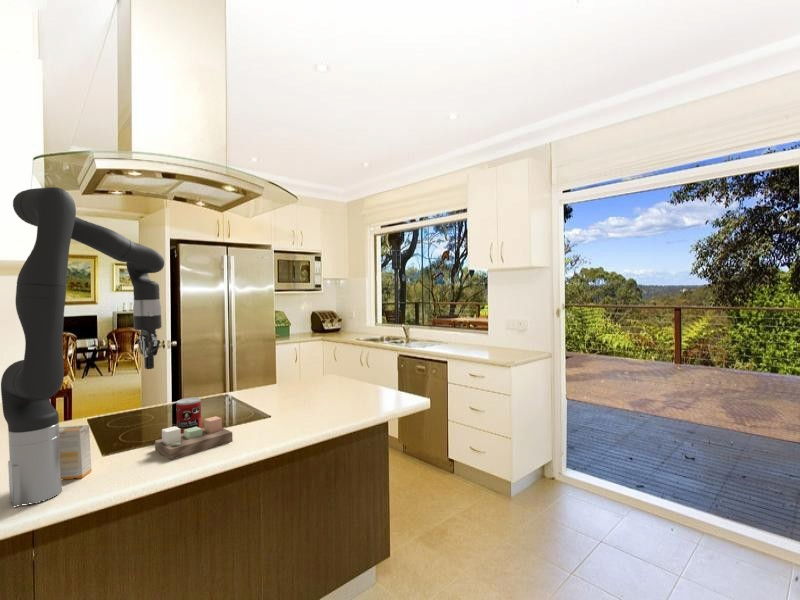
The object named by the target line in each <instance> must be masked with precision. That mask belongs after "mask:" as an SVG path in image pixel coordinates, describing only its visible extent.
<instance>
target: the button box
mask: <svg viewBox="0 0 800 600" xmlns="http://www.w3.org/2000/svg"><path fill="white" fill-rule="evenodd" d="M201 429H202V436H199V437H195V438H191V439H187V438H185V437H184V433H182V434H181V441H180V442H176V443H173V444H169V445H166V444H164V443H162V438H160V439H156V440H154V450H155V451H156V452H157V453H159V454H161V455H162V456H164V457H165V458H167V459H169V460H175V459H178V458H181V457H184V456H187V455H190V454H194V453H199V452H200V451H204V450H207V449H211V448H214V447H218V446H220V445H221V446H222V445H223V444H227V443H231V442H233V431H231V430H229V429H227V428H223V427H222V430H220V431H217V432H213V433H208V432H205V431H204V427H201Z"/></svg>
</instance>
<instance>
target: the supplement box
mask: <svg viewBox="0 0 800 600" xmlns="http://www.w3.org/2000/svg"><path fill="white" fill-rule="evenodd" d="M90 433H91V432H90V425H89V424H83V425H71V426H69V425H68V426H59V436H60V459H61V479H65V480H73V478H77V479H83V478H85V477H86V476H87V475H88V474H89V472H90V473H91V472H92V470H93V469H92V453H91V438H90V437H91V436H90ZM86 474H87V475H86ZM85 475H86V476H85Z"/></svg>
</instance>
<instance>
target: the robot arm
mask: <svg viewBox="0 0 800 600" xmlns="http://www.w3.org/2000/svg"><path fill="white" fill-rule="evenodd" d="M12 209H13V210H14V212H15V214H16V216H17V217H18V218H19V219H20V220H21V221H23V222H25V223H27V224H28V225H31V226H33V227H37V229H36V238H35V243H34V245H33V247H32V249H31V251H30V253H29V255H28V256H27V259H26V260H25V261H24V263H23V265H22V267H21V269H20V271H19V273H18V276H17V279H16V289H15V308H16V313H17V317H18V319H19V320H18V321H19V322H20V325H21V328H22V331H23V335H24V340H25V341H24V342H25V348H24V355H23V359H22V360H18V361H15V362H12V364H9V366H7V367H6V369H5V371H3V374H2V376H1V380H0V392H1V394H0V395H1V404H2V405H1V406H2V412H3V417H4V420H5V422H6V424H7V431H8V433H7V434H8V454H9V460H8V462H7V463H8V464H7V466H8V487H9V490H8V491H9V501H10V500H11V501H10V502H12V503H11V505H12V504H13V505H12V507H13V506H17V505H22V504H29V503H35V502H39V501H43V500H46V499H48V500H50V499H49V498H51V499H53V498H54V496H55V497H56V495H57V496H58V495H59V494H60V493H62V490H63V486H62V482H63V480H61V459H60V436H59V427H60V419H59V417H60V415H59V412H58V410H57V409H56V408H55V407H54V406H53V405H52V403H51V400H50V398H52V397H53V396H54V395H55V394H56V395H57V393H58V392H59V390H60V389H61V387H62V385H63V383H64V378H65V369H64V368H65V367H64V366H65V365H64V353H63V351H64V350H63V348H64V347H63V336H64V335H63V332H64V321H65V320H64V319H65V306H66V299H67V298H66V297H67V277H68V276H67V275H68V267H69V265H68V264H69V255H70V247H71V246H70V245H71V240H74V241H76V242H79V243H81V244H83V245H85V246H87V247H90V248H92V249H94V250H96V251H98V252H100V253H101V254H103V255H106V256H107V257H110V258H111V259H114V260H116V261H118V262H121V263H126V270H127V273H128V275H129V279H130V281H131V285H132V286H133V287H132V288H133V306H132V314H133V315H132V316H133V330H135V331H140V333H139V336H138V338H137V343H138V344H137V345H138V348H139V351H140V354H141V356H142V357H143V358H144V362H143V363H144V369H146V370H152V369H154V368H155V358H154V357H155V356H157V355H158V350H159V347H160V344H161V341H160V339H158V335H157V331H156V330H159V329H161V328H162V305H161V300H160V298H161V297H160V284H159V283H158V281H155V280H152V279H151V278H150V277H149V274H156V273H158V272H161V271H162V270H163V268H164V267H165V259H164V257H163V256H162V254H161V253H160V252H158V251H157V250H155V249H153V248H151V247H148V246H146V245H144V244H140V243H138V242H134V241H132V240H131V239H128V238H127V237H125V236H123V235H122V234H120V233H119V232H117V231H114V230H113V229H111V228H107V227H104V226H102V225H99V224H96V223H93V222H91V221H87V220H84V219H82V218H79V217H77V216H76V214H77V213H76V212H77V210H76V209H77V208H76V203H75V200H74V199H73V197H72V195H71V194H70V193H69V192H68V191H66V190H65V189H63V188H60V187H56V186H54V187H37V188H30V189H26V190H22V191H20V192H18V193H16V195H15V196H14V198H13V199H12ZM52 497H53V498H52ZM46 501H47V500H46ZM43 502H44V501H43ZM39 503H40V502H39Z"/></svg>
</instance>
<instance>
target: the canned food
mask: <svg viewBox="0 0 800 600" xmlns="http://www.w3.org/2000/svg"><path fill="white" fill-rule="evenodd" d="M201 402H202V401H201V398H200V397H186V398H181V399H179V400H177V401H176V408H175V409H176V427H178V428H180V429H181V434H182V433H184V430H185V429H189V428H193V427H199V428H202V403H201Z"/></svg>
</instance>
